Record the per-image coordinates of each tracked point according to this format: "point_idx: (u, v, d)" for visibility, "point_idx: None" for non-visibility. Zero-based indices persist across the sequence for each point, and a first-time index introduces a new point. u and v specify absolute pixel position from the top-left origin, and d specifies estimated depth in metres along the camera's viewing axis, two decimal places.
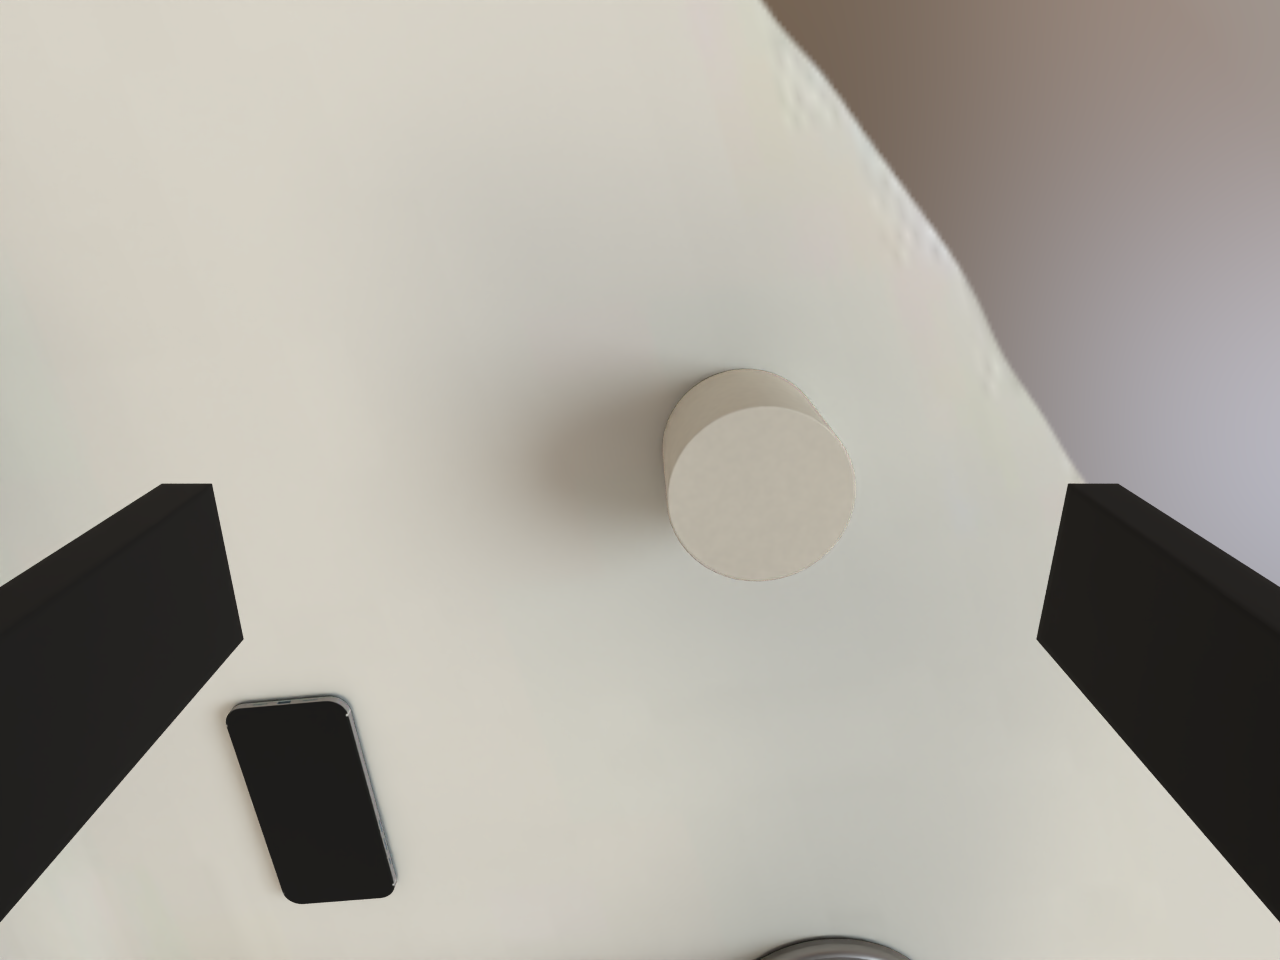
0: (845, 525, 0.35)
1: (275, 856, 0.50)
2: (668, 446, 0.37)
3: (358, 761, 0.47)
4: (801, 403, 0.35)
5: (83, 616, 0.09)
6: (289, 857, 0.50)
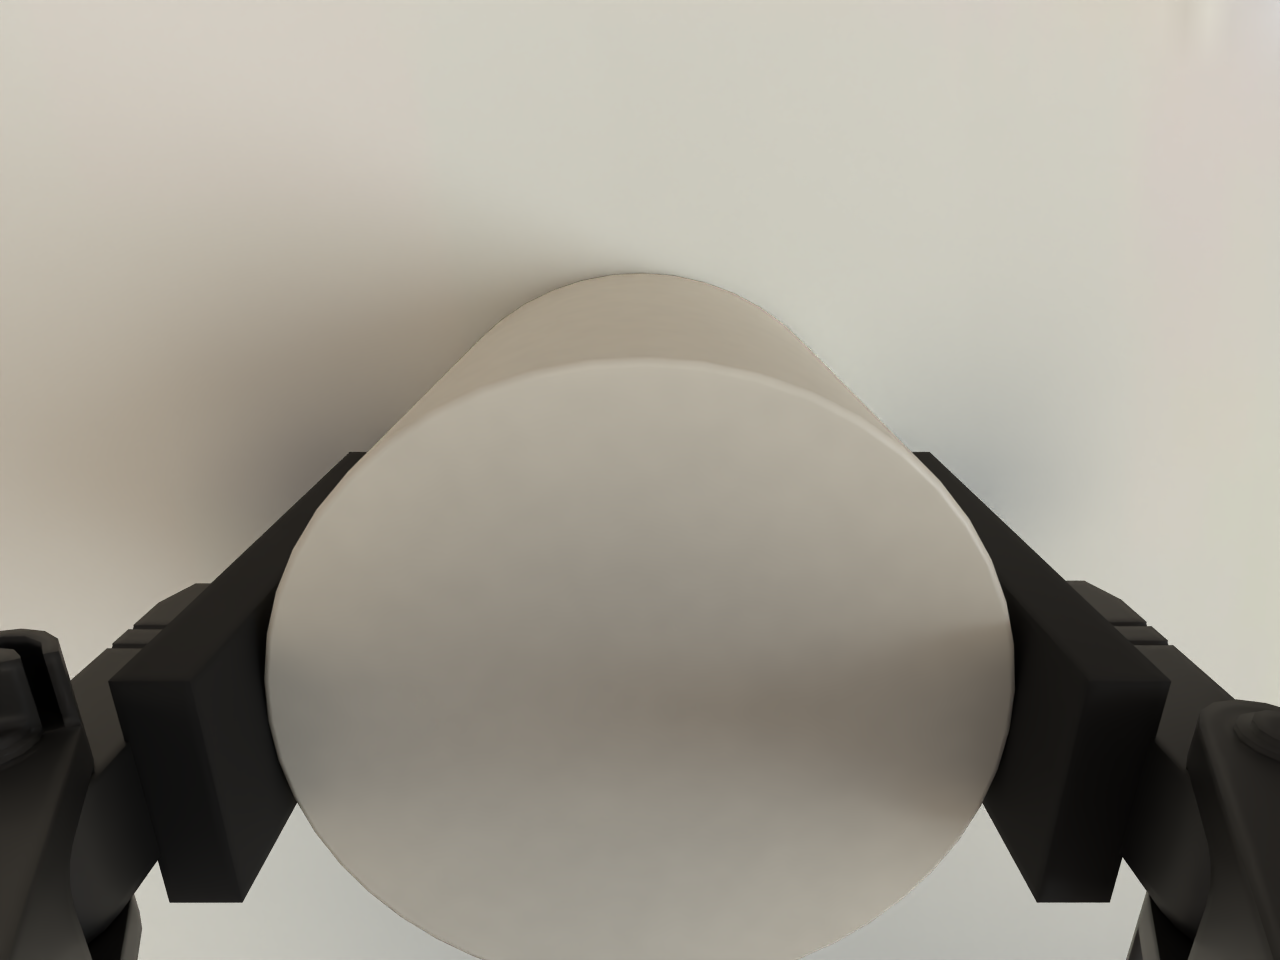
0: (931, 865, 0.09)
1: None
2: None
3: None
4: (849, 392, 0.10)
5: None
6: None
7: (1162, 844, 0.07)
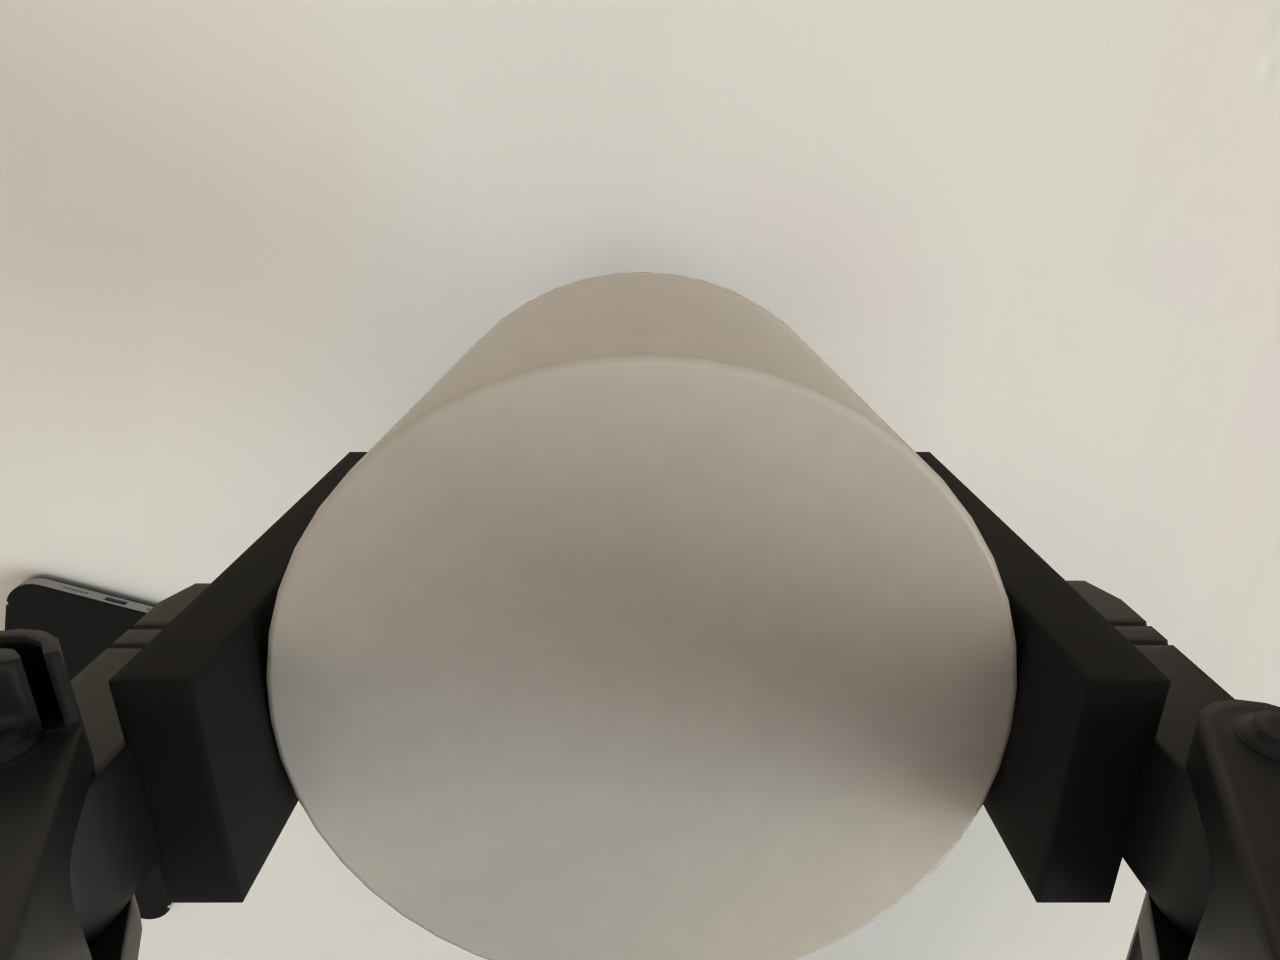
0: (932, 863, 0.09)
1: None
2: None
3: None
4: (851, 390, 0.10)
5: None
6: None
7: (1162, 844, 0.07)
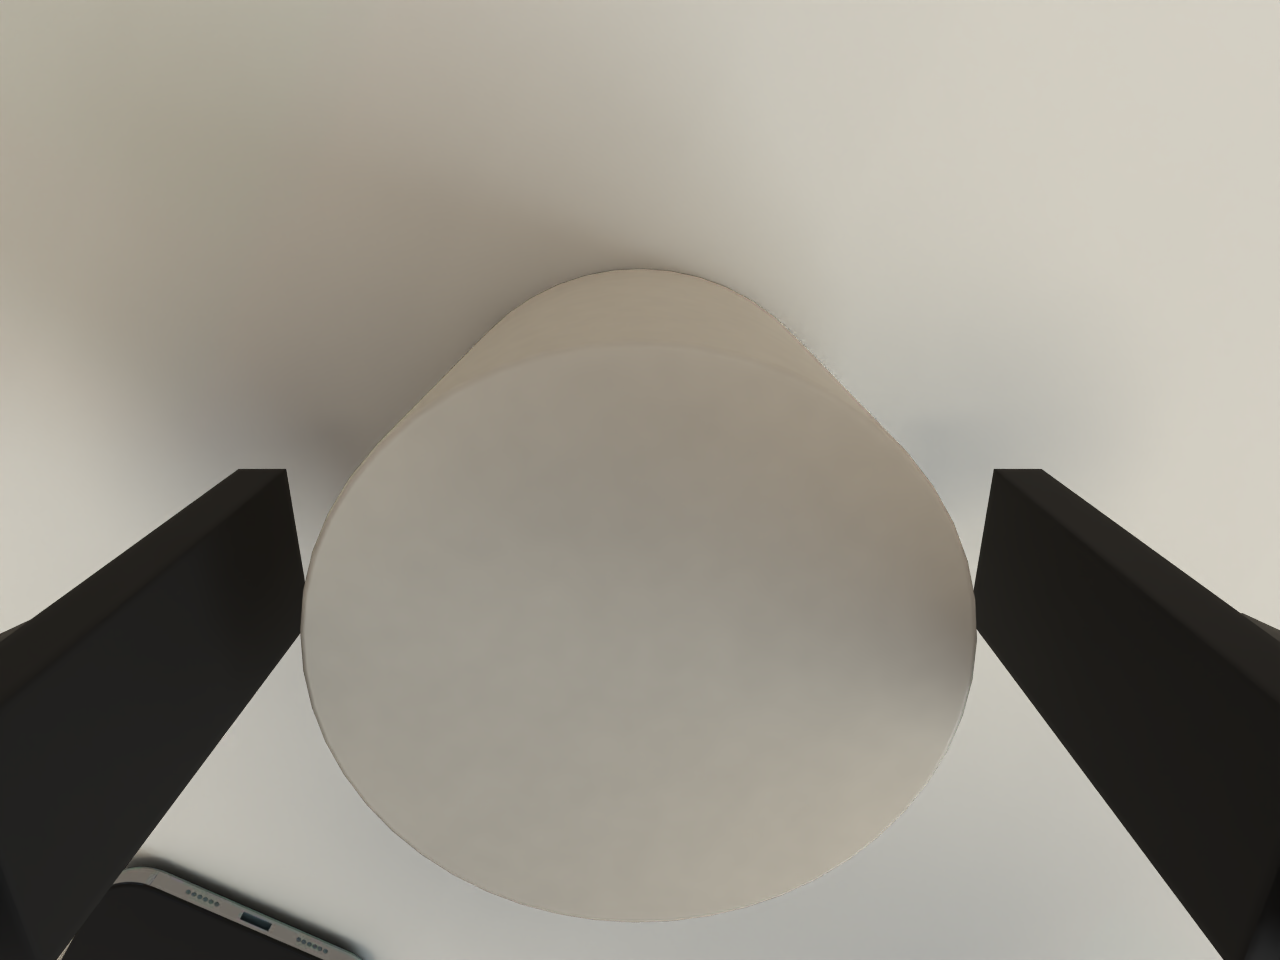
0: (903, 805, 0.10)
1: None
2: None
3: None
4: (829, 375, 0.10)
5: (186, 589, 0.10)
6: None
7: None
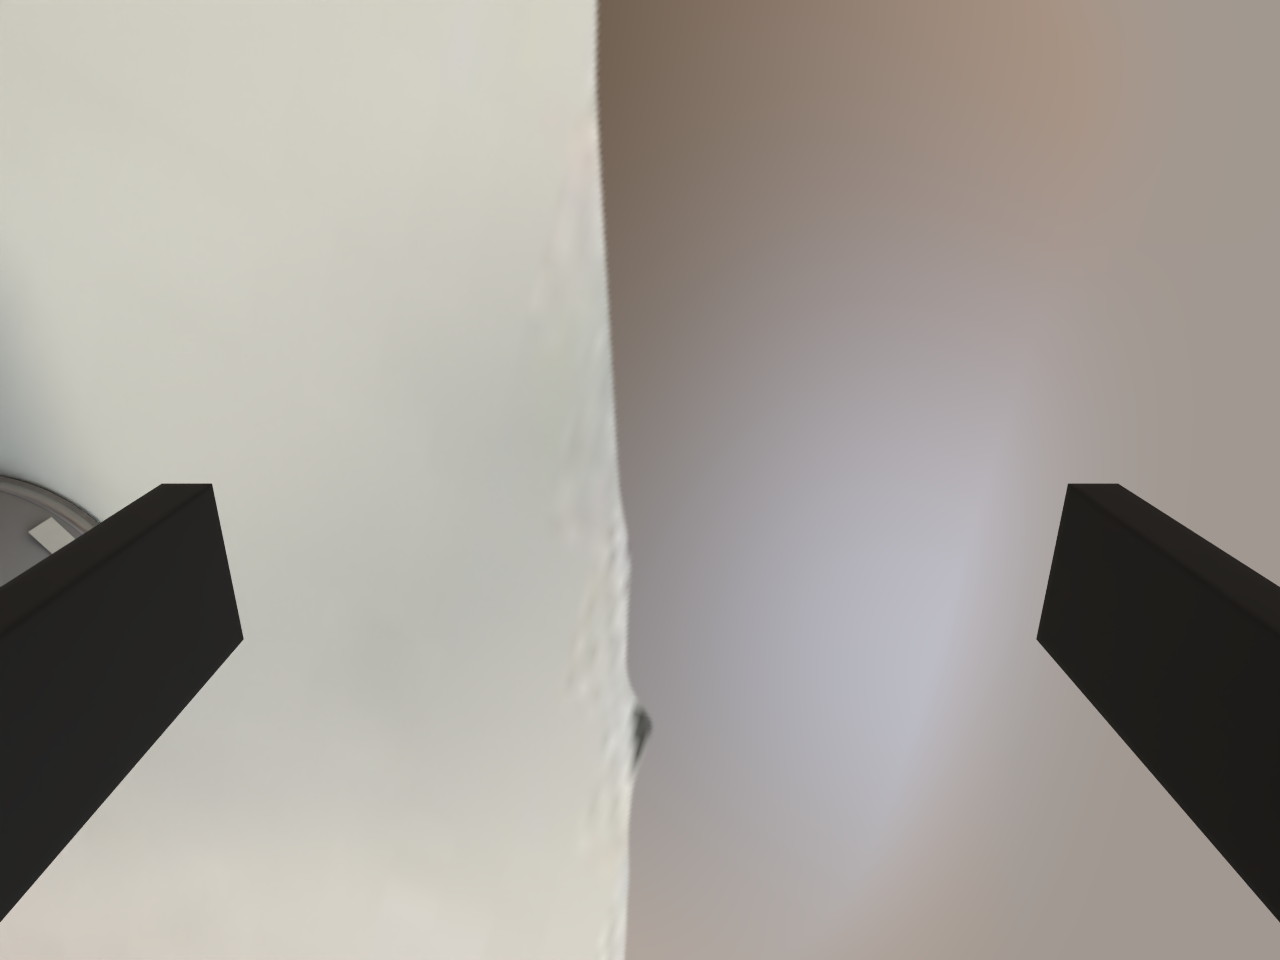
0: None
1: None
2: None
3: None
4: None
5: (83, 616, 0.09)
6: None
7: None
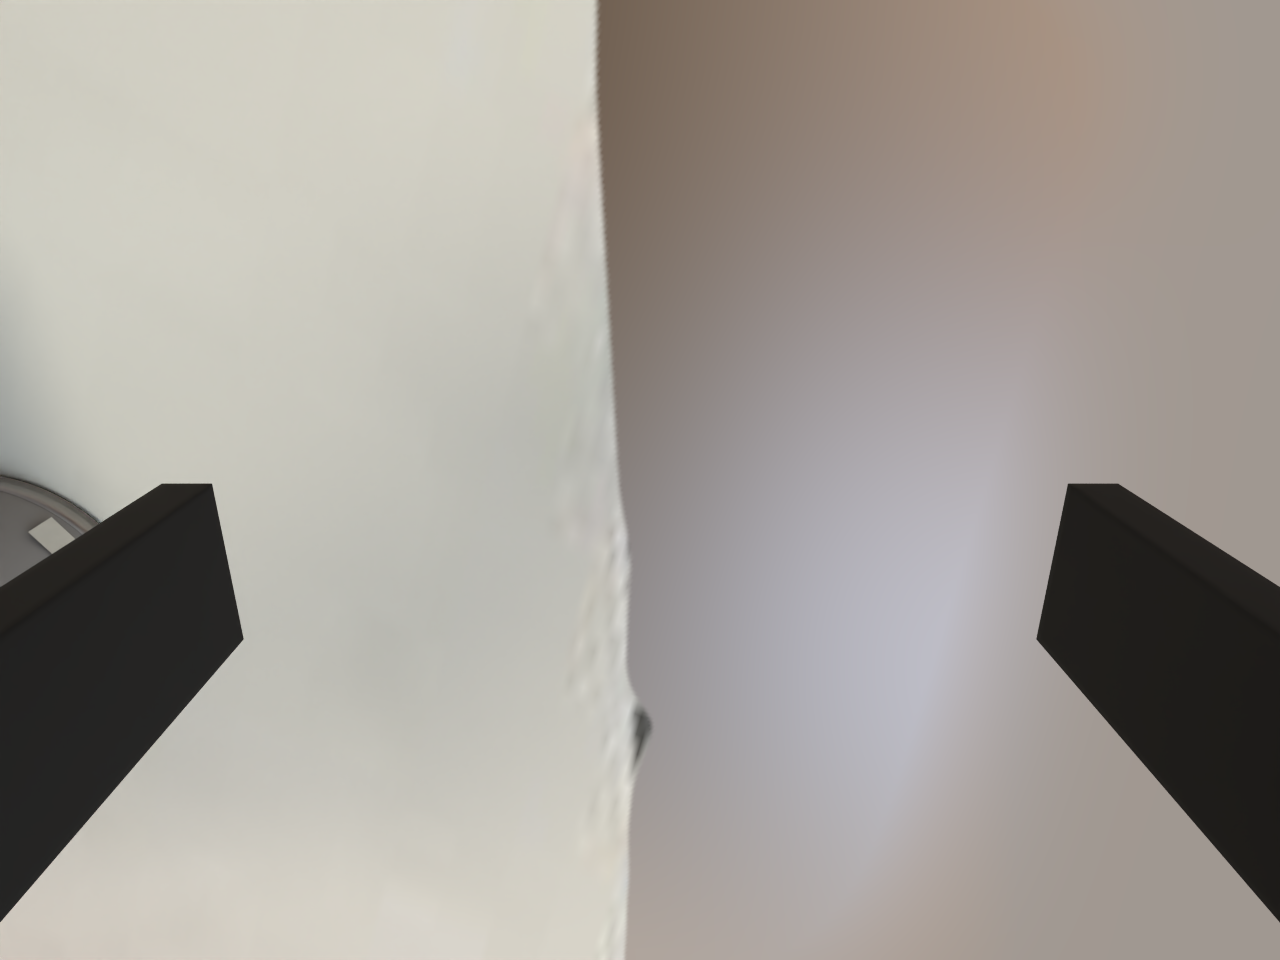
0: None
1: None
2: None
3: None
4: None
5: (83, 616, 0.09)
6: None
7: None
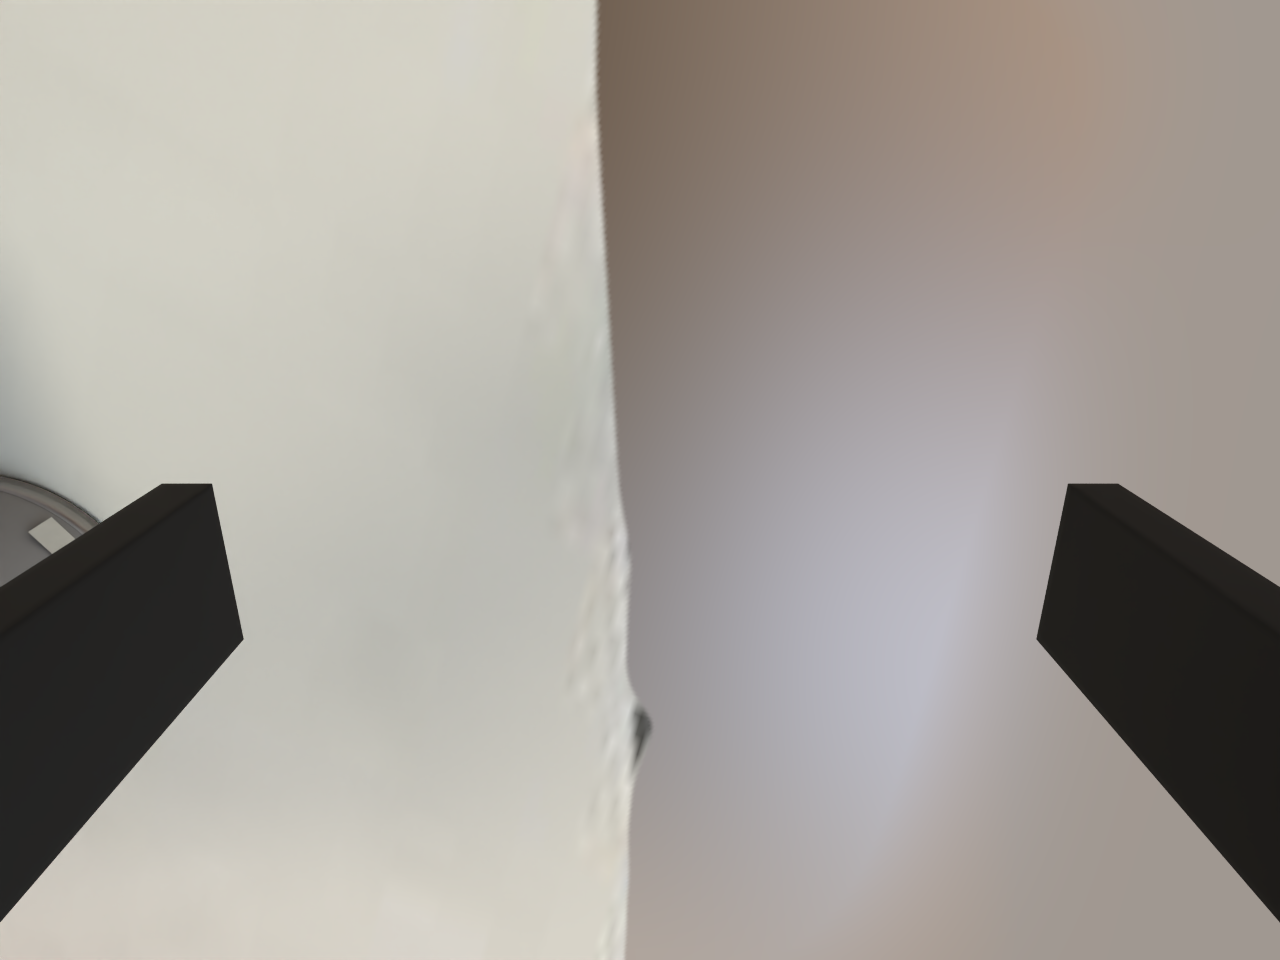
0: None
1: None
2: None
3: None
4: None
5: (83, 616, 0.09)
6: None
7: None
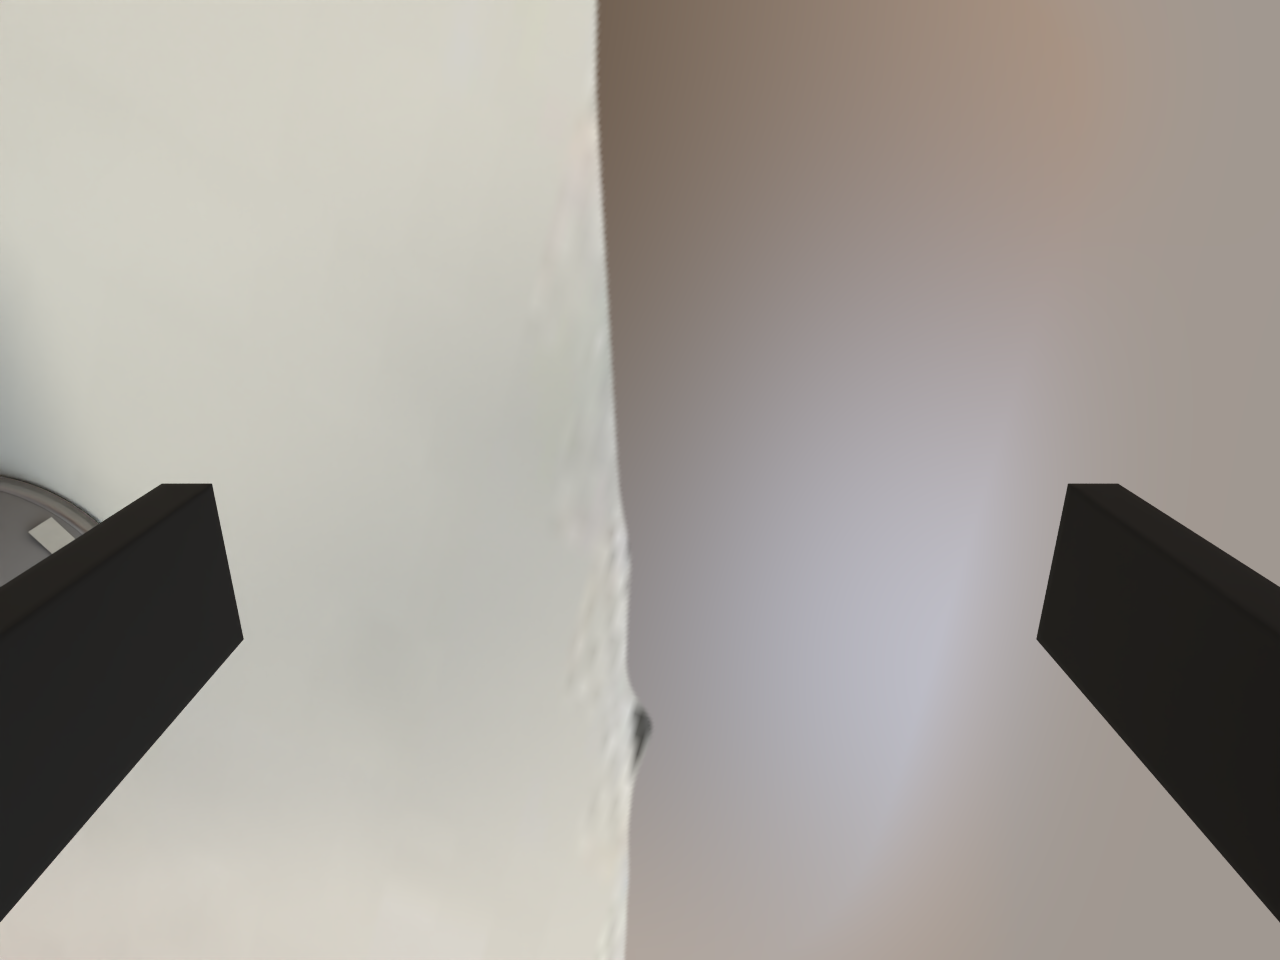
0: None
1: None
2: None
3: None
4: None
5: (83, 616, 0.09)
6: None
7: None
